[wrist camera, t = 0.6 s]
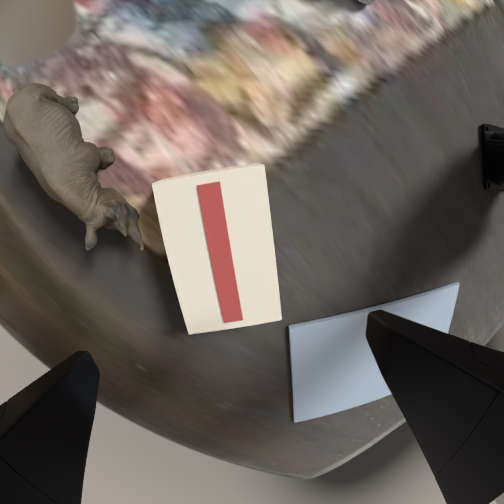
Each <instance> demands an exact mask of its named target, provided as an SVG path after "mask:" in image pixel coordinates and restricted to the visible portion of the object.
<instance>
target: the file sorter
mask: <svg viewBox="0 0 504 504" xmlns="http://www.w3.org/2000/svg"><path fill="white" fill-rule="evenodd" d="M358 1H360V2H362V3H364V4H366V5H370V4H371V3H373V2H374V1H375V0H358Z"/></svg>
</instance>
